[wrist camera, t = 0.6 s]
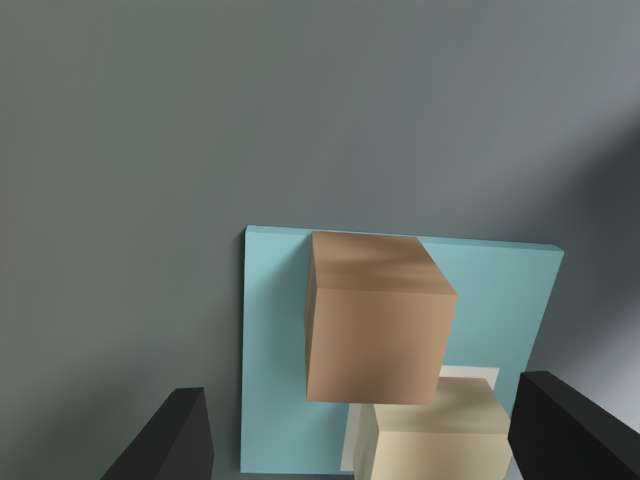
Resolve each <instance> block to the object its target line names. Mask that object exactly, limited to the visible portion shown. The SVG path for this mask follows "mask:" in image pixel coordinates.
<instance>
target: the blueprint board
mask: <svg viewBox="0 0 640 480" xmlns="http://www.w3.org/2000/svg"><path fill="white" fill-rule="evenodd" d="M312 230H313V231H329V232H345V233H361V234H377V235H393V236H409V237H417V238H418V240H419V241H420V242H421V244H422V245H423V247H424V248H425V249H426V251H427V252H428V254H429V255H430V256H431V258H432V259H433V261H434V262H435V263H436V265H437V266H438V268H439V269H440V270H441V272H442V273H443V275H444V276H445V277H446V279H447V280H448V282H449V283H450V284H451V286H452V287H453V289H454V290H455V291H456V293H457V294H458V299H457V304H456V308H455V312H454V316H453V320H452V324H451V329H450V333H449V337H448V341H447V345H446V349H445V354H444V358H443V362H442V366H441V370H440V374H439V377H467V378H485V379H486V380H487V382H488V384H489V385H490V387H491V389H492V390H493V392H494V394H495V395H496V397H497V399H498V400H499V402H500V403H501V405H502V407H503V408H504V410H505V412H506V413H507V415H508V417H510V414H511V411H512V408H513V405H514V402H515V398H516V393H517V388H518V383H519V378H520V373H521V372H525V369H526V366H527V363H528V360H529V357H530V354H531V351H532V348H533V345H534V342H535V339H536V336H537V333H538V330H539V327H540V324H541V321H542V318H543V315H544V312H545V309H546V306H547V303H548V300H549V297H550V294H551V291H552V288H553V285H554V282H555V279H556V276H557V273H558V270H559V267H560V264H561V261H562V258H563V255H564V251H563V250H562V249H560V248H559V247H557V246H556V245H553V244H537V243H521V242H505V241H489V240H474V239H458V238H442V237H426V236H410V235H394V234H378V233H363V232H347V231H331V230H315V229H299V228H283V227H268V226H252V225H248V226H247V229H246V235H245V283H244V330H243V377H242V425H241V472H240V473H286V474H347V475H354V471H353V456H354V450H355V444H356V437H357V431H358V425H359V419H360V412H361V406H362V404H361V403H328V402H306V371H305V335H304V318H305V306H306V294H307V282H308V270H309V258H310V247H311V235H312Z"/></svg>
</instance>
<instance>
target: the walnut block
mask: <svg viewBox="0 0 640 480" xmlns="http://www.w3.org/2000/svg"><path fill="white" fill-rule="evenodd" d="M457 299H458V294H457V293H456V291H455V290H454V289H453V287H452V286H451V284H450V283H449V282H448V280H447V279H446V277H445V276H444V275H443V273H442V272H441V270H440V269H439V268H438V266H437V265H436V263H435V262H434V261H433V259H432V258H431V256H430V255H429V254H428V252H427V251H426V249H425V248H424V247H423V245H422V244H421V242H420V241H419V240H418V238H417V237H409V236H393V235H377V234H361V233H345V232H329V231H313V230H312V235H311V247H310V258H309V270H308V282H307V294H306V306H305V318H304V335H305V371H306V402H328V403H361V404H394V405H427V406H432V404H433V399H434V395H435V391H436V387H437V383H438V379H439V374H440V370H441V366H442V362H443V358H444V354H445V349H446V345H447V341H448V337H449V333H450V329H451V324H452V320H453V316H454V312H455V308H456V304H457Z"/></svg>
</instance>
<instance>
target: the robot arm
mask: <svg viewBox="0 0 640 480" xmlns="http://www.w3.org/2000/svg"><path fill="white" fill-rule="evenodd" d="M507 440H508V443H509V445H510V448H511V450H512V453H513V455H514V458H515V460H516V463H517V465H518V468H519V470H520V472H521V475H522V477H523V479H524V480H640V434H639V433H637V432H636V431H634V430H633V429H631V428H630V427H629V426H627V425H626V424H624V423H623V422H621V421H620V420H618V419H617V418H615V417H614V416H613V415H611V414H610V413H608V412H607V411H605V410H604V409H602V408H601V407H600V406H598V405H597V404H595V403H594V402H592V401H591V400H589V399H588V398H587V397H585V396H584V395H582V394H581V393H579V392H578V391H576V390H575V389H574V388H572V387H571V386H569V385H568V384H566V383H565V382H563V381H562V380H560V379H559V378H557V377H556V376H554V375H552V374H551V373H549V372H548V371H536V372H521V373H520V378H519V383H518V388H517V393H516V398H515V403H514V407H513V412H512V417H511V422H510V427H509V432H508V437H507ZM213 458H214V451H213V445H212V439H211V432H210V426H209V420H208V413H207V407H206V401H205V394H204V388H203V387H199V388H178V389H175V390H174V391H173V392H172V393H171V394H170V395H169V397H168V398H167V399H166V400H165V402H164V403H163V404H162V405H161V407H160V408H159V409H158V411H157V412H156V413H155V414H154V416H153V417H152V418H151V419H150V421H149V422H148V423H147V424H146V426H145V427H144V428H143V429H142V430H141V432H140V433H139V434H138V435H137V437H136V438H135V439H134V440H133V442H132V443H131V444H130V445H129V446H128V447H127V449H126V450H125V451H124V452H123V453H122V454H121V456H120V457H119V458H118V459H117V460H116V462H115V463H114V464H113V465H112V466H111V467H110V469H109V470H108V471H107V472H106V473H105V474H104V476H103V477H102V478H101V479H100V480H211V473H212V465H213Z"/></svg>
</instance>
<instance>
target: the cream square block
mask: <svg viewBox="0 0 640 480" xmlns="http://www.w3.org/2000/svg"><path fill="white" fill-rule="evenodd" d="M510 422H511V420H510V418H509V417H508V415H507V413H506V412H505V410H504V408H503V407H502V405H501V403H500V402H499V400H498V399H497V397H496V395H495V394H494V392H493V390H492V389H491V387H490V385H489V384H488V382H487V380H486V379H485V378H467V377H439V379H438V383H437V387H436V391H435V395H434V399H433V404H432V406H427V405H394V404H362V406H361V412H360V419H359V425H358V431H357V437H356V444H355V450H354V456H353V471H354V478H355V480H504V478H505V475H506V472H507V469H508V466H509V464H510V461H511V458H512V455H513V453H512V450H511V448H510V445H509V443H508V440H507V437H508V432H509V427H510Z"/></svg>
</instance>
